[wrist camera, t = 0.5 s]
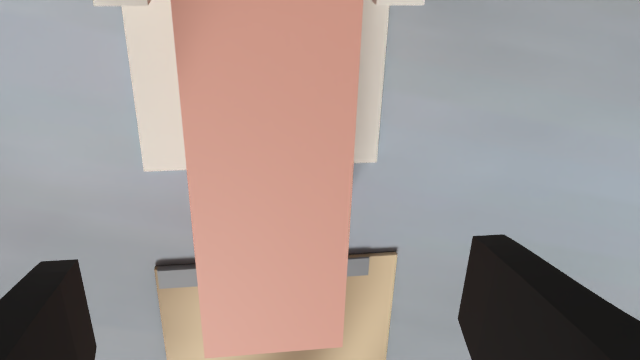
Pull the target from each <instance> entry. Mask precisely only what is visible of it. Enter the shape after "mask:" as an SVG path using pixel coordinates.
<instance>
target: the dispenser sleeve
mask: <svg viewBox="0 0 640 360" xmlns="http://www.w3.org/2000/svg"><path fill="white" fill-rule="evenodd" d="M424 1H425V0H363V15H362V32H361V48H360V65H359V82H358V98H357V115H356V132H355V148H354V163H373V162H377V152H378V140H379V128H380V116H381V103H382V91H383V79H384V66H385V54H386V42H387V29H388V17H389V5H424ZM93 4H94V6H122V13H123V21H124V28H125V35H126V43H127V50H128V57H129V65H130V72H131V80H132V87H133V94H134V102H135V109H136V116H137V124H138V131H139V139H140V146H141V153H142V161H143V168H144V172H145V171H170V170H187V168H186V158H185V147H184V137H183V126H182V116H181V105H180V95H179V84H178V74H177V64H176V53H175V43H174V32H173V22H172V11H171V1H170V0H93ZM353 255H354V254H353ZM369 259H370V258H369V257H356V258H348V265H347V277H348V276H364V275H368V271H369ZM192 265H193V264H188V265H183V266H184V267H183V266H182V265H172V266H162V267H161V266H158V268H157V275H158V283H159V289H166V288H181V287H196V286H198V283H197V273H196V265H193V266H192Z"/></svg>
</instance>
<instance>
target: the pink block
mask: <svg viewBox="0 0 640 360" xmlns="http://www.w3.org/2000/svg"><path fill="white" fill-rule="evenodd" d="M170 1H171V11H172V22H173V32H174V43H175V53H176V64H177V74H178V84H179V95H180V105H181V116H182V126H183V137H184V147H185V158H186V168H187V179H188V189H189V200H190V210H191V221H192V231H193V242H194V252H195V262H196V273H197V283H198V294H199V304H200V315H201V325H202V336H203V346H204V357H205V358H216V357H228V356H241V355H253V354H265V353H277V352H289V351H302V350H314V349H326V348H338V347H343V332H344V315H345V298H346V282H347V265H348V248H349V232H350V215H351V198H352V182H353V165H354V148H355V132H356V115H357V98H358V82H359V65H360V48H361V32H362V15H363V0H170Z"/></svg>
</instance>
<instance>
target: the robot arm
mask: <svg viewBox="0 0 640 360" xmlns="http://www.w3.org/2000/svg"><path fill="white" fill-rule="evenodd" d="M458 321H459V324H460V327H461V330H462V333H463V336H464V339H465V342H466V345H467V348H468V350H469V353H470V356H471V359H472V360H640V321H639V320H637V319H635V318H634V317H632V316H630V315H629V314H627V313H625V312H624V311H622V310H620V309H619V308H617V307H615V306H614V305H612V304H611V303H609V302H607V301H606V300H604V299H603V298H601V297H599V296H598V295H596V294H595V293H593V292H592V291H590V290H589V289H587V288H585V287H584V286H582V285H581V284H579V283H578V282H576V281H575V280H573V279H572V278H570V277H569V276H567V275H566V274H564V273H563V272H561V271H560V270H558V269H557V268H555V267H554V266H552V265H551V264H549V263H548V262H546V261H545V260H543V259H542V258H540V257H539V256H537V255H536V254H534V253H533V252H531V251H530V250H528V249H527V248H525V247H523V246H522V245H520V244H519V243H517V242H516V241H514V240H512V239H511V238H509V237H507V236H505V235H486V236H473V239H472V244H471V250H470V255H469V261H468V266H467V272H466V277H465V283H464V288H463V293H462V299H461V304H460V310H459V315H458ZM95 353H96V342H95V337H94V333H93V328H92V324H91V319H90V314H89V310H88V305H87V300H86V296H85V291H84V286H83V282H82V277H81V272H80V268H79V263H78V259H77V260H60V261H43V262H40V263H39V264H38V265H37V266H35V267H34V268H33V269H32V270H31V271H30V272H29V273H28V274H27V275H26V276H25V277H24V278H22V279H21V280H20V281H19V282H18V283H17V284H16V285H15V286H14V287H13V288H12V289H11V290H10V291H9V292H8V293H7V294H6V295H5V296H4V297H2V298H1V299H0V360H95Z"/></svg>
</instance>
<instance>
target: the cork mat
mask: <svg viewBox="0 0 640 360" xmlns="http://www.w3.org/2000/svg"><path fill="white" fill-rule="evenodd" d="M356 257H369V258H370V259H369V271H368V275H364V276H348V277H347V282H346V298H345V315H344V332H343V347H338V348H326V349H314V350H302V351H289V352H277V353H265V354H253V355H241V356H228V357H216V358H205V357H204V346H203V336H202V325H201V315H200V304H199V294H198V286H196V287H181V288H166V289H159V283H158V275H157V268H158V266H155V269H154V270H155V278H156V285H157V292H158V299H159V307H160V314H161V321H162V328H163V335H164V343H165V350H166V357H167V360H386V353H387V344H388V335H389V326H390V317H391V308H392V299H393V290H394V280H395V271H396V262H397V253H396V252H386V253H369V254H354V255H348V258H356ZM193 265H196V264H193ZM193 265H192V266H193ZM171 266H172V265H171ZM182 266H183V265H182ZM161 267H162V266H161ZM183 267H184V266H183Z"/></svg>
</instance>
